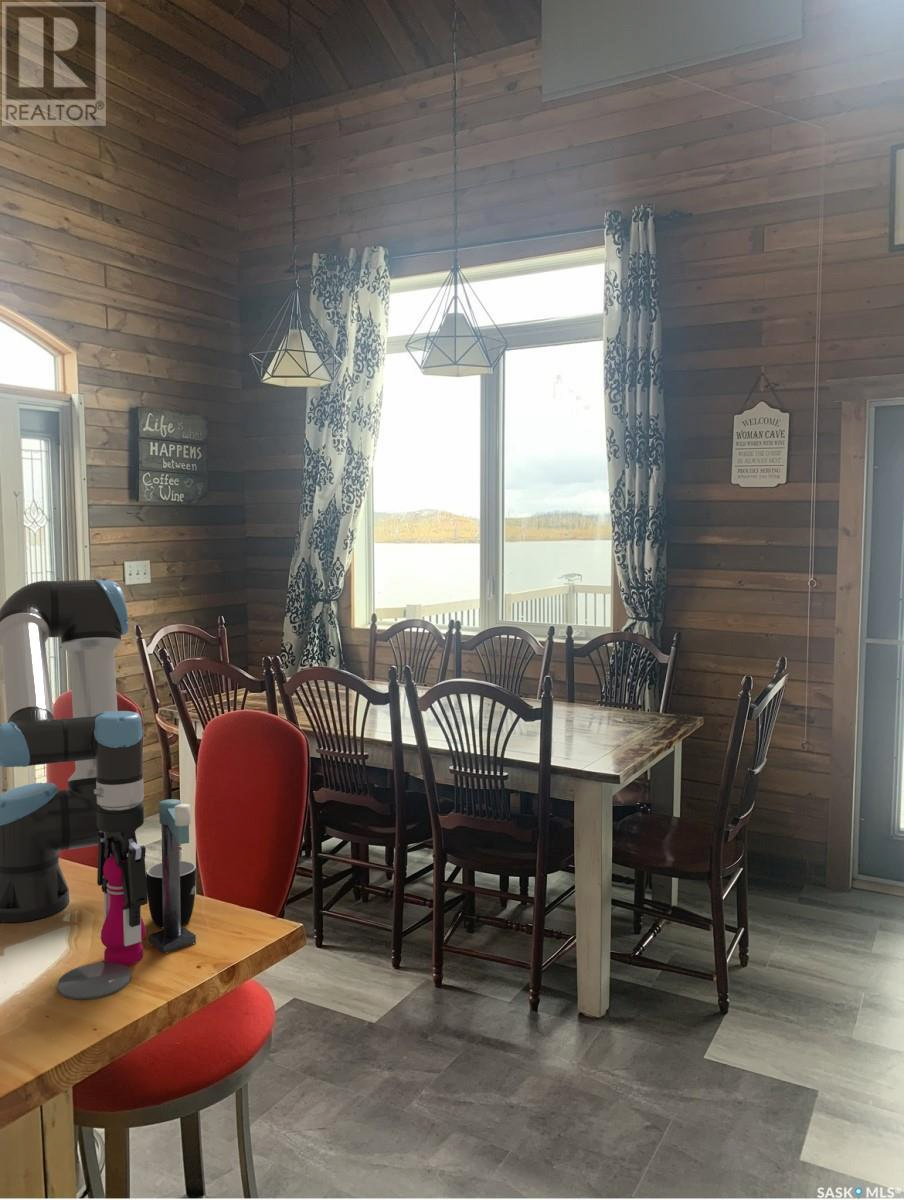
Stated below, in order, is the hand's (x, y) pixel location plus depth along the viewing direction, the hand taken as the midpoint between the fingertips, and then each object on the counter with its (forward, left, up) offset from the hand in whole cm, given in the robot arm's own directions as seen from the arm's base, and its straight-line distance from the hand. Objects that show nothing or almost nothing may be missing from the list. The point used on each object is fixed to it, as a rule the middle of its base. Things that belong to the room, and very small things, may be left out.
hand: (122, 935), depth 156 cm
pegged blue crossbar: (+6, +7, +18) cm, 20 cm away
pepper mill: (0, 0, -4) cm, 4 cm away
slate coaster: (+5, -7, -4) cm, 10 cm away
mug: (-10, +14, -4) cm, 18 cm away
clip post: (0, +9, -4) cm, 10 cm away
